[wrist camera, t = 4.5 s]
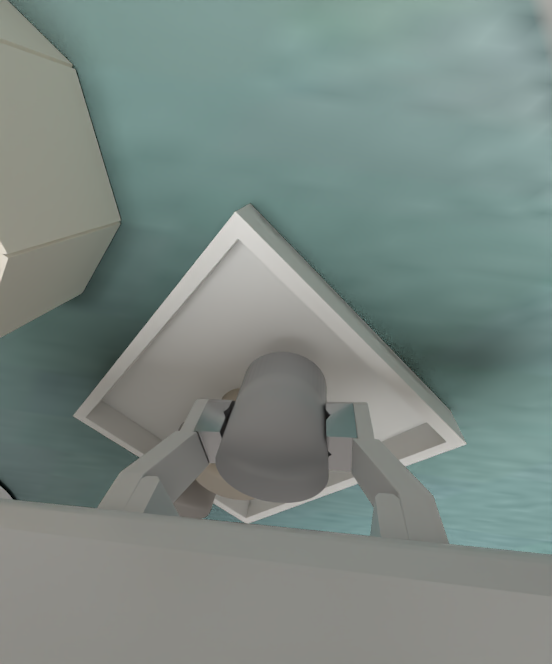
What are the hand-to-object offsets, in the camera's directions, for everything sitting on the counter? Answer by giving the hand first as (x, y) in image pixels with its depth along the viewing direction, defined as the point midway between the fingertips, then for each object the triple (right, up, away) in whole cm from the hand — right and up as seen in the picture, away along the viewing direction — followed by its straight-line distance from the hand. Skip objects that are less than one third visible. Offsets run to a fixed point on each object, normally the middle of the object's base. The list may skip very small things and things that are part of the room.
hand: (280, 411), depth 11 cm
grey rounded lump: (0, +1, +1) cm, 1 cm away
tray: (-2, -1, +5) cm, 6 cm away
